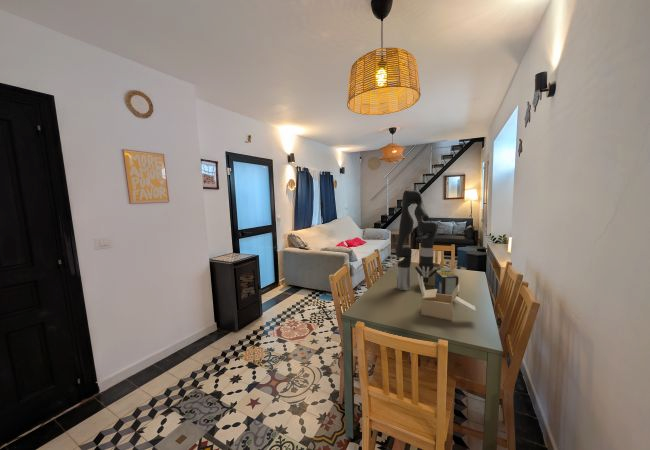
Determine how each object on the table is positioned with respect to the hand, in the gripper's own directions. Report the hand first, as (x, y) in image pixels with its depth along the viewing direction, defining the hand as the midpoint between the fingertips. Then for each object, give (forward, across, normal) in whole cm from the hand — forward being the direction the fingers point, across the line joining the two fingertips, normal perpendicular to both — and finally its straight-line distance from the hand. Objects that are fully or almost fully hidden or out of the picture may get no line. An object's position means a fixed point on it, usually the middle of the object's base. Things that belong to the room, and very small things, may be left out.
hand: (425, 282), depth 151 cm
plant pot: (+18, -2, +51) cm, 54 cm away
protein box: (+18, +10, +33) cm, 39 cm away
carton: (+18, +7, 0) cm, 19 cm away
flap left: (+7, +2, 0) cm, 7 cm away
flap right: (+3, +16, 0) cm, 16 cm away
